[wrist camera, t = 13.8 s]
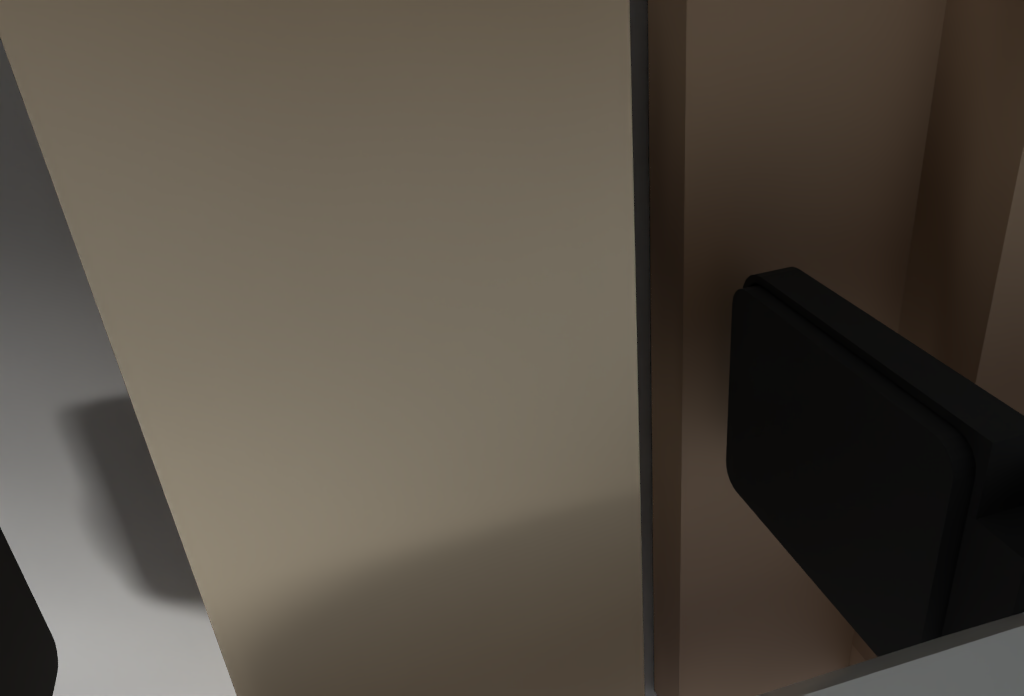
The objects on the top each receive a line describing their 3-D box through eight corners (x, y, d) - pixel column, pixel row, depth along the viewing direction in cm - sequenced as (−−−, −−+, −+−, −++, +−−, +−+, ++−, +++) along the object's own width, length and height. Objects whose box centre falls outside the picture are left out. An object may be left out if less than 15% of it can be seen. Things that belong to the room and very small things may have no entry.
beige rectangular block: (101, -54, 9) (-13, 1, 4) (444, -92, 9) (627, -78, 5) (331, 734, 14) (376, 1084, 10) (531, 673, 15) (650, 976, 11)
